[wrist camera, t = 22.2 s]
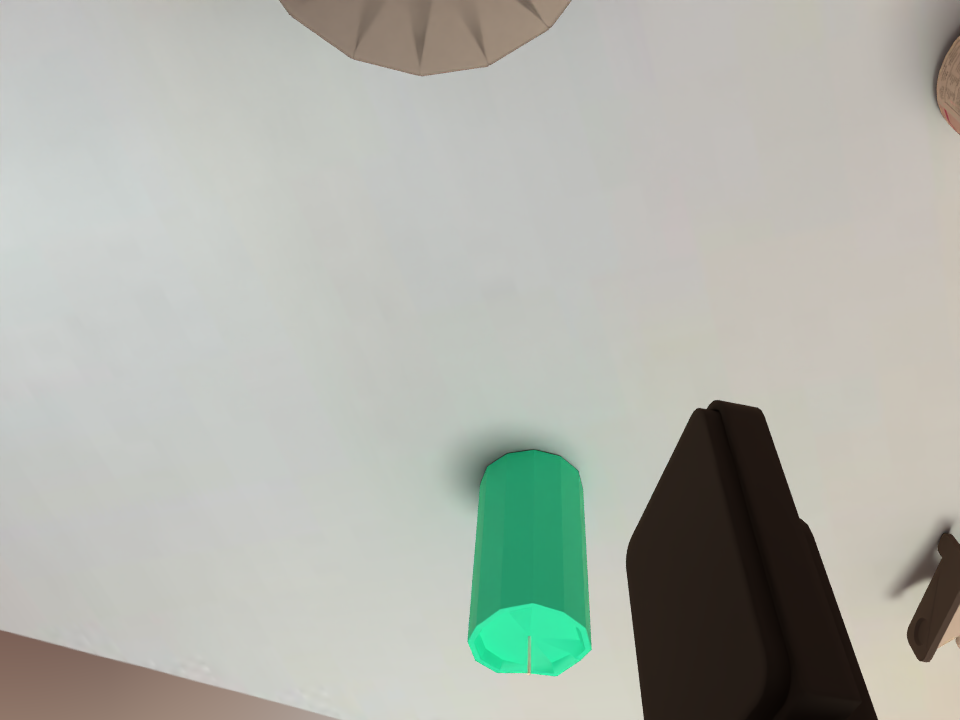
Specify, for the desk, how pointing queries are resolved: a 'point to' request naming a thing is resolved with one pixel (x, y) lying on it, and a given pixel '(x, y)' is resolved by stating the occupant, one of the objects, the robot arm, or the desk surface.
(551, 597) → the candle
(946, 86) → the beverage can
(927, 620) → the clip-on lamp
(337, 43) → the tape
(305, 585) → the desk surface
